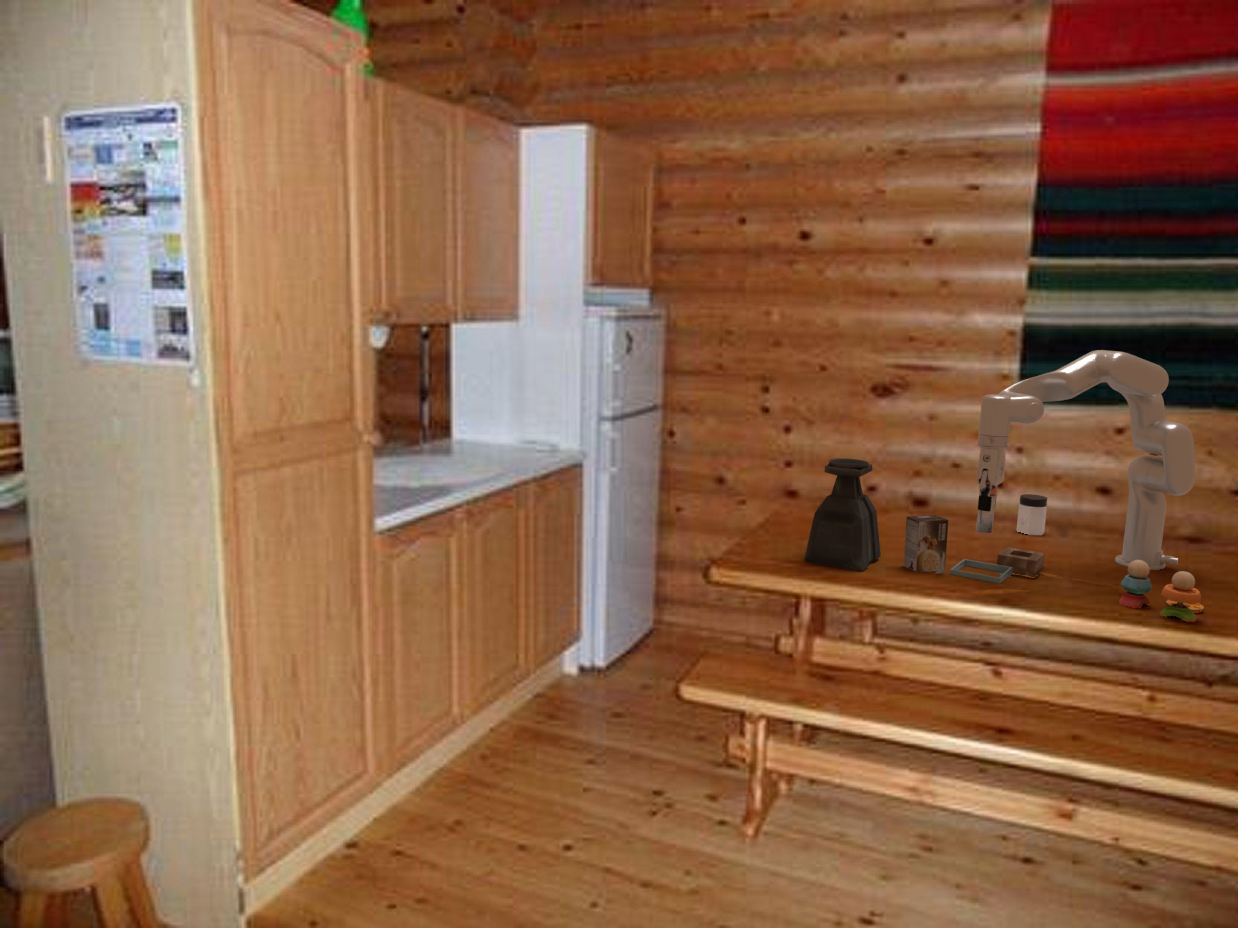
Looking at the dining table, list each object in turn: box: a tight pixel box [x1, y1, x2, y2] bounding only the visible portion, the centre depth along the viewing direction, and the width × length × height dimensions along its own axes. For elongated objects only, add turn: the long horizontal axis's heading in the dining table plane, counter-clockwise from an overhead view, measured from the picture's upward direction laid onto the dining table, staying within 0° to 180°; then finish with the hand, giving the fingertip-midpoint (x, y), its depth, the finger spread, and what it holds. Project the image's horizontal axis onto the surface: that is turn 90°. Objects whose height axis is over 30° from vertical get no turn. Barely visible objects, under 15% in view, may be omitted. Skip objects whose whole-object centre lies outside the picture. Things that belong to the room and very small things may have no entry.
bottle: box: [803, 457, 882, 572], centre depth 259 cm, size 18×16×30 cm
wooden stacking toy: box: [1118, 560, 1205, 620], centre depth 229 cm, size 18×17×12 cm
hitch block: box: [996, 546, 1045, 578], centre depth 262 cm, size 10×10×5 cm
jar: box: [1016, 493, 1048, 536], centre depth 305 cm, size 9×8×12 cm
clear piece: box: [975, 487, 998, 534], centre depth 252 cm, size 4×4×12 cm
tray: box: [949, 558, 1013, 584], centre depth 255 cm, size 13×13×2 cm
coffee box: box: [903, 514, 949, 575], centre depth 255 cm, size 9×6×16 cm
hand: (986, 508), depth 252 cm, fingers closed on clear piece, 4 cm apart
